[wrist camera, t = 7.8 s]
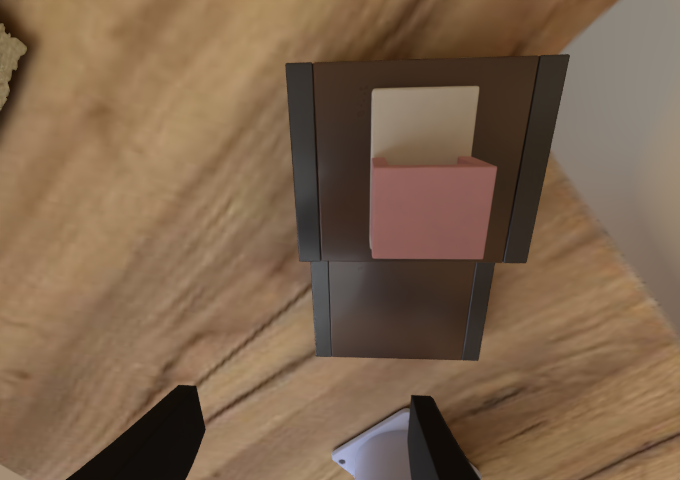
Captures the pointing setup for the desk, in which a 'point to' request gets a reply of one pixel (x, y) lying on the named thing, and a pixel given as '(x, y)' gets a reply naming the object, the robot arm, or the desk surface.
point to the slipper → (427, 175)
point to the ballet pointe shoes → (8, 60)
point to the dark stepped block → (354, 201)
